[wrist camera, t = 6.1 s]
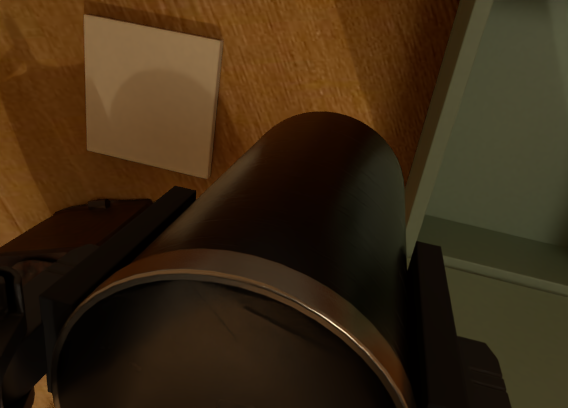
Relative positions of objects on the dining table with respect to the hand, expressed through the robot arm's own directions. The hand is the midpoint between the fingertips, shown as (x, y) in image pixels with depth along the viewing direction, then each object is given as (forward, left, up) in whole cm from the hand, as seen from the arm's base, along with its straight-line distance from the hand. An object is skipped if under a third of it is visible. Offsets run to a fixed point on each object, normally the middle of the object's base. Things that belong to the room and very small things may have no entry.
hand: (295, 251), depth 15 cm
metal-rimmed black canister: (0, 0, -6) cm, 6 cm away
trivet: (+2, -16, -21) cm, 27 cm away
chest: (-2, +12, -21) cm, 25 cm away
